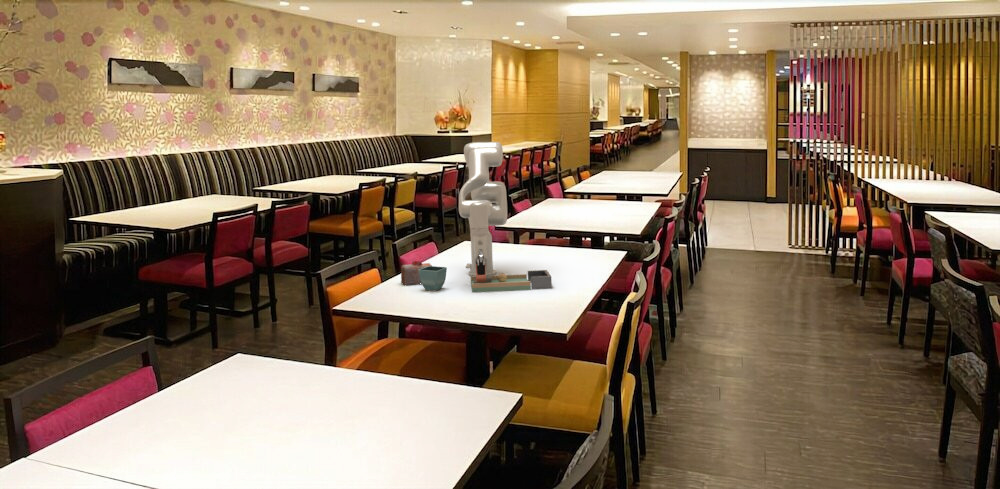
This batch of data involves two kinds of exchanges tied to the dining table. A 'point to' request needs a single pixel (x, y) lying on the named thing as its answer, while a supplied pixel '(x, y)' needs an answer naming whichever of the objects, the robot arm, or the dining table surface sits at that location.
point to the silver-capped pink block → (482, 277)
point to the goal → (539, 279)
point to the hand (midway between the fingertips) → (480, 272)
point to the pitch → (502, 284)
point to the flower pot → (432, 277)
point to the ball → (502, 277)
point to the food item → (412, 272)
